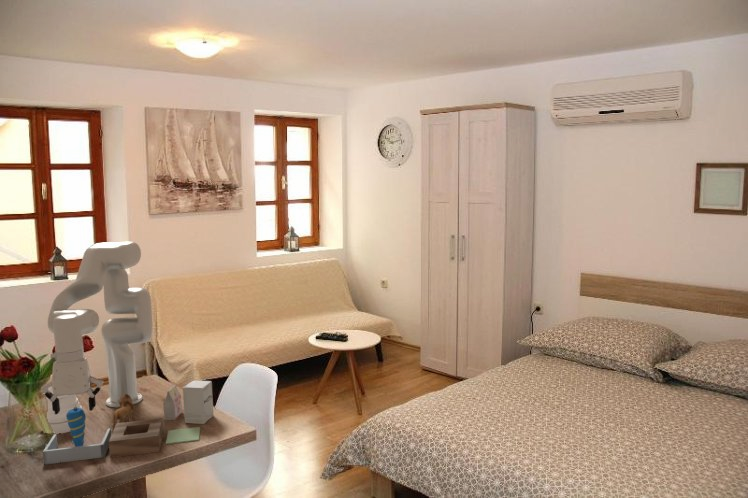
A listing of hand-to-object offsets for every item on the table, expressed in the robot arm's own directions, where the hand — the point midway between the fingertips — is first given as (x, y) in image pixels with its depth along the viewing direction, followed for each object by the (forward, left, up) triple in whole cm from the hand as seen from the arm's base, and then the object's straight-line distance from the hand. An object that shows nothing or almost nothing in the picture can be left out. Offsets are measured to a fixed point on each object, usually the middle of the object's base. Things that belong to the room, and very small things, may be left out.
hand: (74, 411), depth 190 cm
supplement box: (-16, +35, -14) cm, 41 cm away
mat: (-3, +31, -13) cm, 33 cm away
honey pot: (-24, -10, -14) cm, 29 cm away
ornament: (-1, 0, -13) cm, 13 cm away
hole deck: (-1, +17, -13) cm, 22 cm away
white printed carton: (-22, +26, -14) cm, 36 cm away
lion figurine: (-19, +10, -14) cm, 25 cm away
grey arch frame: (-1, 0, -13) cm, 13 cm away
